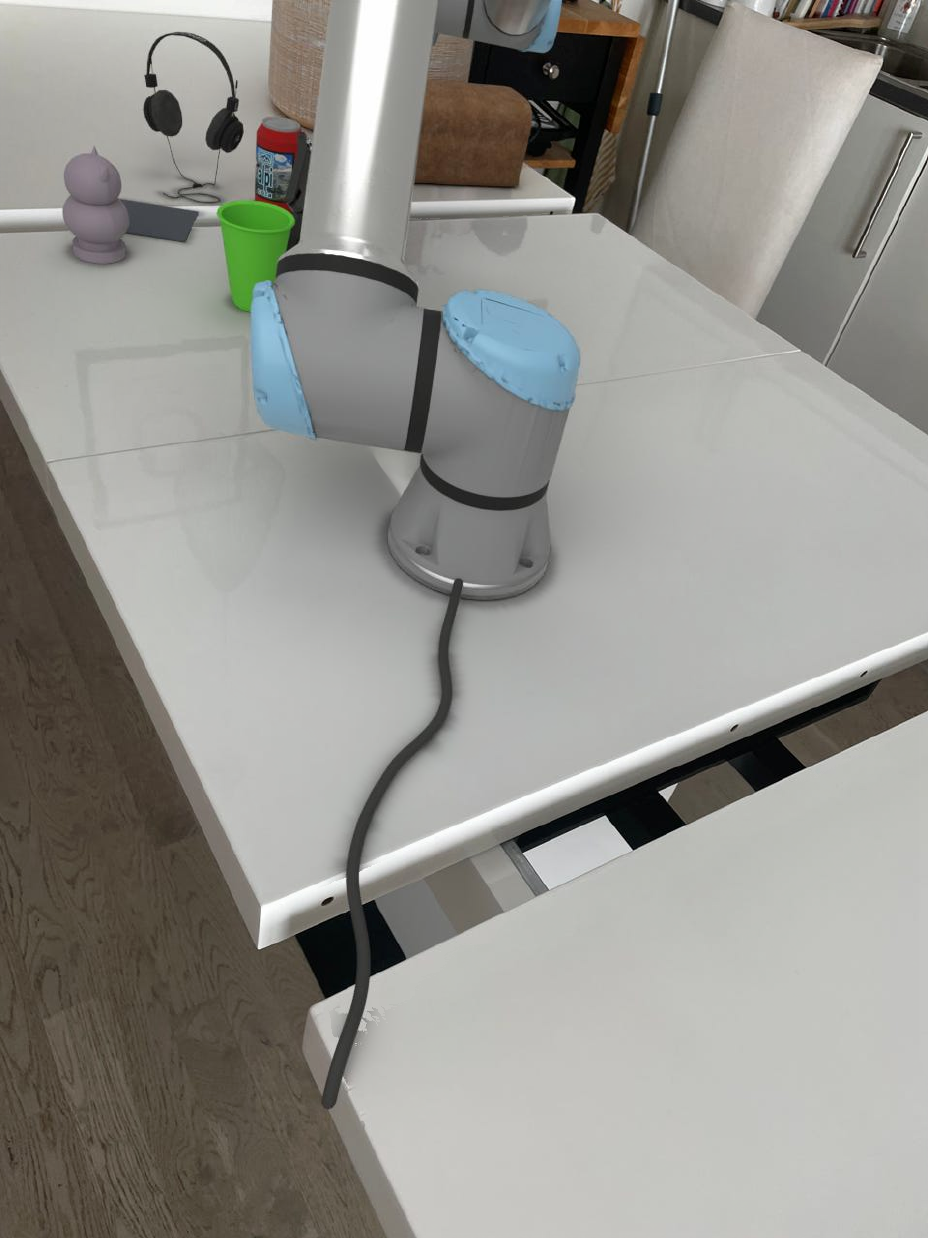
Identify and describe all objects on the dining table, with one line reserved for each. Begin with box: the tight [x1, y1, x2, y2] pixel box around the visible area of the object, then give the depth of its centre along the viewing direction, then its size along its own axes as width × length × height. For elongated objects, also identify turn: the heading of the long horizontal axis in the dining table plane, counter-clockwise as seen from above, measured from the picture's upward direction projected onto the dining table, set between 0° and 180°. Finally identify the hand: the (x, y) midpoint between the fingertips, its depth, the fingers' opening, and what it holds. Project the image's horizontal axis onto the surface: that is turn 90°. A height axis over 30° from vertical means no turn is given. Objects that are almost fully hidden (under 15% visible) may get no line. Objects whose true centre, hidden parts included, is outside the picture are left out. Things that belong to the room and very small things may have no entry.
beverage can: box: [254, 116, 303, 214], centre depth 143 cm, size 7×7×12 cm
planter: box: [267, 0, 475, 132], centre depth 177 cm, size 37×37×32 cm
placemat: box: [118, 198, 200, 243], centre depth 136 cm, size 11×11×1 cm
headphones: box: [142, 31, 245, 204], centre depth 141 cm, size 15×11×20 cm
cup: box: [216, 200, 295, 313], centre depth 119 cm, size 9×9×11 cm
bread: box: [318, 74, 533, 187], centre depth 166 cm, size 14×34×14 cm, turn 111°
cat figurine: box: [61, 145, 129, 265], centre depth 122 cm, size 8×8×12 cm
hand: (284, 265), depth 125 cm, fingers closed
